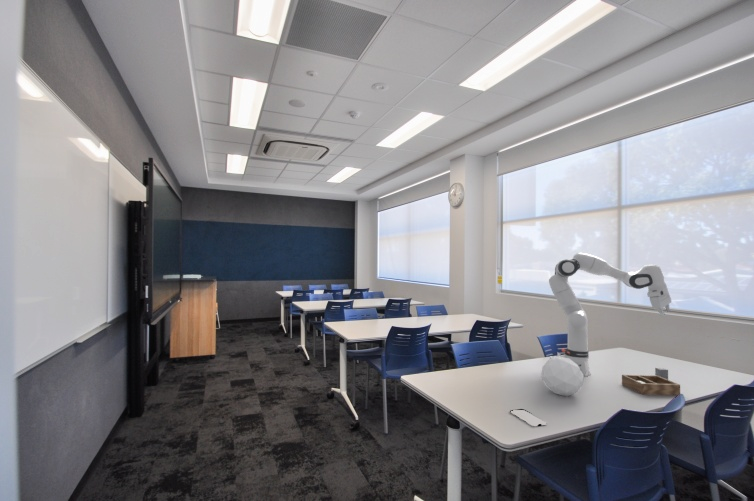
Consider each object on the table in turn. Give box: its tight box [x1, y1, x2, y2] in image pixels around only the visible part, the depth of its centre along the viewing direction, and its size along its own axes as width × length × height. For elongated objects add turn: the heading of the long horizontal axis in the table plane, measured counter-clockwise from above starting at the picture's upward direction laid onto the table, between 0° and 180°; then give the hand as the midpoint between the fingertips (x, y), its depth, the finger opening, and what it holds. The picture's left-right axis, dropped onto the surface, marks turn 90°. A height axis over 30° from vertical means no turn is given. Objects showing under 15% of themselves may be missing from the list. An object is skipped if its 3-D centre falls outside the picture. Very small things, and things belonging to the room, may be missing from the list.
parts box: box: [621, 374, 681, 396], centre depth 190 cm, size 20×15×6 cm
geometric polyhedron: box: [540, 355, 584, 397], centre depth 183 cm, size 19×20×20 cm
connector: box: [654, 367, 669, 380], centre depth 200 cm, size 5×4×9 cm
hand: (665, 313), depth 207 cm, fingers open, 8 cm apart
